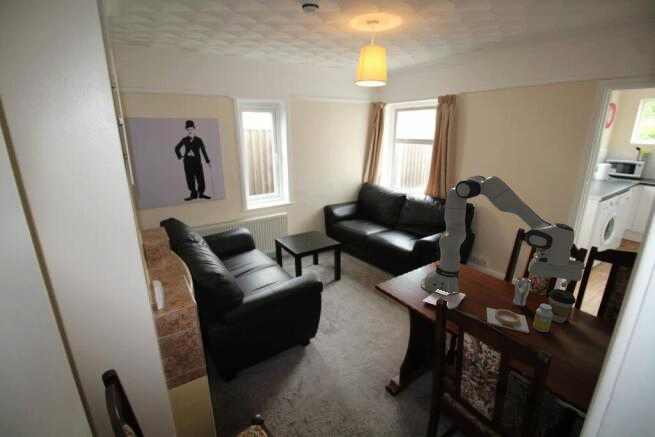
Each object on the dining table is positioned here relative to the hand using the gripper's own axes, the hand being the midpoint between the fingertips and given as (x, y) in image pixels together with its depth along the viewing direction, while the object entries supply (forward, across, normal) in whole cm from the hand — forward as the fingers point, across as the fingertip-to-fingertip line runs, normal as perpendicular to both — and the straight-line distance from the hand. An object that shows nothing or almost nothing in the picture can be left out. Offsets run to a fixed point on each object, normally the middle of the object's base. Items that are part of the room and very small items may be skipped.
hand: (551, 284), depth 143 cm
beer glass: (+24, +7, -21) cm, 33 cm away
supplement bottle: (+25, +1, 0) cm, 25 cm away
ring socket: (+24, +16, 0) cm, 29 cm away
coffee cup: (+25, -9, -12) cm, 29 cm away
